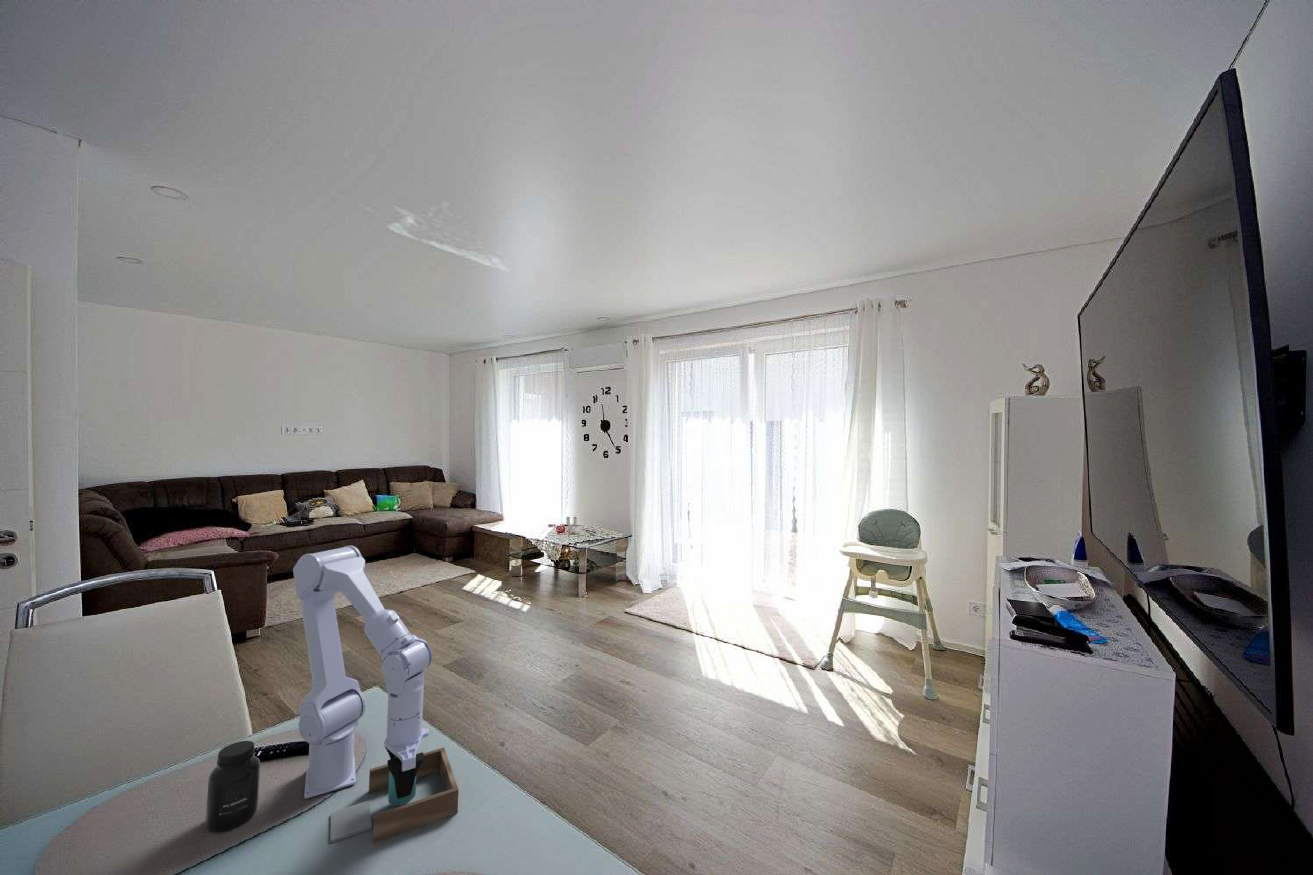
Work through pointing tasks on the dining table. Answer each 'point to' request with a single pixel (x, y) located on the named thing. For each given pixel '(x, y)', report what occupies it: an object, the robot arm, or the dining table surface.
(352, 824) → the mat
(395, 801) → the capsule
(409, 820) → the open u-shaped frame
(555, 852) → the dining table surface
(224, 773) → the supplement bottle
